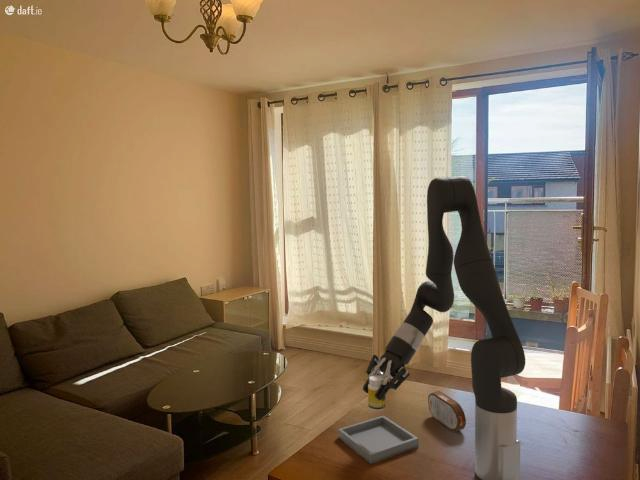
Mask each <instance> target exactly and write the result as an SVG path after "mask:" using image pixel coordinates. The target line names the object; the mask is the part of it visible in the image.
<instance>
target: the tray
mask: <svg viewBox="0 0 640 480" xmlns="http://www.w3.org/2000/svg"><path fill="white" fill-rule="evenodd" d="M337 432H338V433H337V435H338V437H337V438H338V439H339V440H341V441H342V442H343V443H344V444H345V445H346V446H348V447H349V448H350V449H352V450H353V452H355V453H356V454H357V455H359V456H360V457H361V458H362V459H364V460H365V461H366V462H367V463H368V464H370V465H373V464H375V463H378V462H381V461H384V460H387V459H389V458H392V457H395V456H397V455H401V454H403V453H406V452H409V451H412V450H415V449H417V448H419V446H420V445H419V444H420V441H419V437H417V436H416V435H414V434H413V433H411V432H410V431H408V430H407V429H405V428H403V426H400V425H399V424H397V423H396V422H395V421H392V420H391V419H390V418H388V417H386V416H385V415H381V416H378V417H374V418H371V419H368V420H364V421H360V422H356V423H355V424H351V425H348V426H345V427H341V428H338V429H337Z"/></svg>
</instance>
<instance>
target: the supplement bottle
mask: <svg viewBox="0 0 640 480" xmlns="http://www.w3.org/2000/svg"><path fill="white" fill-rule="evenodd" d="M368 378H369V383H370V384H369V385H368V393H367V399H368V400H367V404H368V406H367V407H368V410H371V411H372V412H382V411H384V410H385V409H386V408H387V407H386V406H387V405H386V404H387V403H386V402H387V401H386V395H385V396H384V398H383V399H381V400H378V399H377V398H376V397H375V394H376V392H377V391H378V389H379V388H380V386H381V384H382V385H383V382H384V379H385V376H383V377H382V376H379V375H377V374H375V375H373V376H370V377H369V376H368Z"/></svg>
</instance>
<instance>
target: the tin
mask: <svg viewBox="0 0 640 480" xmlns="http://www.w3.org/2000/svg"><path fill="white" fill-rule="evenodd" d="M427 403H428V409H429V412H430V414H431V416H432V417H433V419H435V420H436V421H437V422H439V423H440V424H441V425H442V426H444V427H446V428H447V429H448V430H450V431H452V432H458V431H461V430H464V429H465V427H466V425H467V418H466V415H465V412H464V411H465V410H464V409H463V408H462V406H461V405H460V404H459V402H458V401H456V400H455V399H453V398H451V397H450V396H449V395H447V394H445V393H444V392H442V391H440V390H436V391H434V392H431V393H429V394H428V396H427Z"/></svg>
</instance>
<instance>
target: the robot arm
mask: <svg viewBox="0 0 640 480" xmlns="http://www.w3.org/2000/svg"><path fill="white" fill-rule="evenodd" d="M426 192H427V193H426V213H427V214H426V215H427V216H426V218H427V219H426V220H427V235H428V236H427V237H428V245H427V246H428V247H427V258H426V266H425V267H426V268H425V275H426V278H427V279H428V281H425V282H422V283H421V284H420V285H419V286H418V288H417V290H416V294H415V296H414V301H413V303H412V307H411V308H410V311H409V313H408V314H407V316H406V317H405V319H404V320H403V322H402V324H401V325H400V326H399V327H398V328H397V330H396V331H395V333H394V334H393V336H392V337H391V338H390V340H389V341H388V343H387V345H386V346H385V348H384V350H385V352H384V354H382V355H381V356H378V355H377V354H373V355H372V357H371V360H370V362H369V364H368V367H367V369H366V370H365V373H366V374H367V375H368V378H367V380H366V381H365V383H364V385H363V387H362V391H364V392H365V393H366V394H368V385H369V384H370V383H369V377H370V376H373V375H379V376H382V377H384V382H383V385H382V384H381V386H380V388H379V389H378V391H377V392H376V394H375V397H376V398H377V399H378V400H381V399H383V398H384V396H386V394H387V393H388V391H390V390H391V389H393V390H394V391H395V390H397V389H398V388H399V387H400V386H401V385H402V384H403V383H405V381H406V380H407V379H408V378H409V376H411V373H410V372H409V371H408V369H406V367H405V366H406V365H409V363H410V362H411V360H413V357H414V356H415V354H416V352H417V351H418V349H419V348H420V346H421V344H422V342H423V340H424V338H425V336H427V333H428V332H429V330H430V329H431V327H432V325H433V323H434V319H433V317H432V315H430V314H429V313H428V312H427V311H425V307H428V308H430V309H432V310H434V311H436V312H439V313H446V312H448V311H449V310H451V308H452V307H453V305H454V302H455V291H454V284H453V280H452V279H453V278H452V270H453V267H454V271H455V274H456V278H457V281H458V285H459V287H460V289H461V291H462V293H463V294H464V295H465V297H466V298H467V299H468V300H469V301H470V302H471V303H472V304H473V306H474V307H475V308H476V309H477V311H479V312H480V314H481V315H482V316H483V318H484V319H485V321H486V323H487V326H488V329H489V332H490V335H491V337H489V338H482V339H480V340H476V341H475V342H474V344H472V345H473V346H472V347H471V350H470V351H471V353H470V369H471V370H470V371H471V385H472V391H473V394H474V402H475V403H474V404H475V405H474V408H475V411H474V414H475V415H474V426H475V427H474V429H475V430H474V433H475V435H474V437H475V438H474V442H475V443H474V445H475V446H474V449H475V450H474V451H475V452H474V453H475V455H474V456H475V457H474V459H475V461H474V462H475V466H474V469H475V471H474V472H475V475H476V476H477V477H478V478H479V479H480V480H521V441H520V440H519V439H518V438H517V437H518V435H517V433H518V428H517V426H518V416H517V415H518V398H517V395H516V394H515V392H513V391H512V390H510V389H507V388H505V387H502V379H504V378H508V377H513V376H517V375H519V374H521V373H522V372H524V369H525V367H526V355H525V351H524V346H523V344H522V341H521V340H520V337H519V334H518V332H517V330H516V327H515V325H514V322H513V320H512V317H511V315H510V313H509V310H508V306H507V304H506V301H505V298H504V294H503V292H502V289H501V286H500V281H499V277H498V275H497V269H496V267H495V264H494V261H493V257H492V255H491V252H490V249H489V246H488V242H487V239H486V236H485V231H484V228H483V224H482V219H481V216H480V215H481V214H480V210H479V206H478V205H479V204H478V199H477V195H476V191H475V188H474V185H473V183H472V181H471V179H470V178H469V177H468V176H465V175H454V176H445V177H444V176H441V177H435V178H433V179H431V181H430V182H429V184H428V186H427V191H426ZM452 212H454V213H455V212H458V215H459V219H460V226H461V233H460V237H459V240H458V243H457V245H456V249H455V252H454V249H453V246H452V244H451V242H450V240H449V238H448V235H447V233H446V230H445V229H444V224H443V220H444V214H446V213H452Z"/></svg>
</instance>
